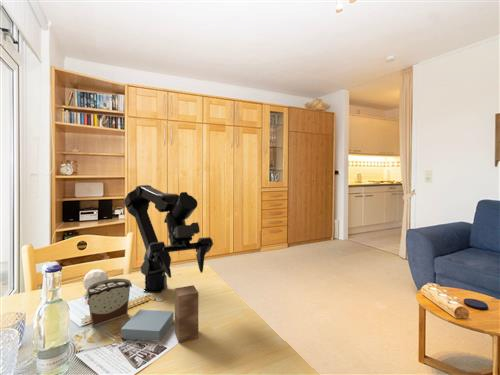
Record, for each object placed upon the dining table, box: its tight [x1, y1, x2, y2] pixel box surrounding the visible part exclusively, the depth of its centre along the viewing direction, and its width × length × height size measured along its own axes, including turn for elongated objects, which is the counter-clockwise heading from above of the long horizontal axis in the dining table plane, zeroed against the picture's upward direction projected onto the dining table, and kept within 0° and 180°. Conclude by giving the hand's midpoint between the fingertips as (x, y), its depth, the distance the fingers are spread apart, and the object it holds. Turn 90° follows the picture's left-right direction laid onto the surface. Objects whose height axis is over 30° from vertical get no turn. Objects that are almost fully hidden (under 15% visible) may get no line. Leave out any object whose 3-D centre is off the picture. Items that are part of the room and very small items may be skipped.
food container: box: [84, 278, 133, 327], centre depth 81 cm, size 12×6×10 cm, turn 134°
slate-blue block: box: [120, 309, 175, 341], centre depth 75 cm, size 10×10×3 cm
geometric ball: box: [82, 268, 109, 291], centre depth 99 cm, size 8×8×8 cm
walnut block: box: [174, 284, 199, 344], centre depth 72 cm, size 5×5×12 cm
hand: (186, 274), depth 80 cm, fingers open, 9 cm apart
